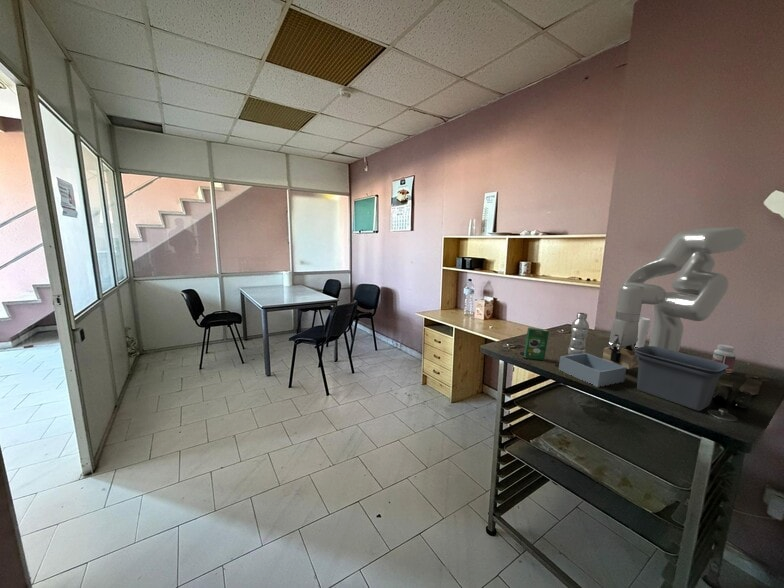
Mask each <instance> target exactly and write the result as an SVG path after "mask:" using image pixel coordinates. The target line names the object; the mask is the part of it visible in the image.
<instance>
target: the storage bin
mask: <svg viewBox="0 0 784 588" xmlns="http://www.w3.org/2000/svg"><path fill="white" fill-rule="evenodd" d="M634 351H635V352H636V353H635V356H637V357H639V358H638V367H637V382H636V383H637V384H636V388H637V390H638V391H640V392H643V393H646V394H649V395H652V396H655V397H657V398H661V399H663V400H666V401H669V402H671V403H675V404H677V405H679V406H683V407H685V408H688V409H691V410H694V411H698V412H701V411H702V410H704V409H706V408H707V407H709V406H710V405H711V403H712V398H713V397H714V394H715V391H716V389H717V385H718V383H719V380H720V377H721V376H724V375H727V374H726V373H727V370H726V368H728V367H729V366H728V365H726V364H723V363H719V362H716V361H712V359H709V358H703V357H699V356H696V355H692V354H688V353H683V352H680V351H679V352H676V351H672V350H668V349H664V348H659V347H654V346H649V345H644V346H643V347H639V348H635V349H634Z"/></svg>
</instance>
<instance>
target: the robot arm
mask: <svg viewBox="0 0 784 588" xmlns="http://www.w3.org/2000/svg"><path fill="white" fill-rule="evenodd" d="M744 231H745V230H743V229H741V228H740V227H736V226H735V227H732V226H731V227H702V228H695V229H692V230H684V231H679V232H678V233H675V235H674V236H673V237H672V238H671V239H670V241H669V242H668V243H667V245H666V246H665V247H664V248H663V250H662V251H661V253H660V254H659V255H658V256H657V258H656V259H653V261H650V262H648V263H646V264H644V265H642V266H640V267H639V268H637V269H635V270H634V271H633V272H631V273H630V274H629V276H627V279H625V281H624V282H623V283H622V284H621V285H620V286H619V289H618V294H617V302H616V310H615V317H614V320H613V323H612V326H611V330H610V334H609V335H610V336H609V342H608V345H609V346H608V347H610V348H611V359H610V360H611V361H613V362H616V363H620V356H621V353H620V351H621V349H622V348H623V347H625V348H624V349H628V350H631V351H635V345H636V343H637V341H638V338H637V337H638V322H639V319H640V317H641V313H642V312H641V311H642V305H643V304H644V305H651V306H653V313H654V314H653V315H654V316H653V323H652V328H651V332H650V338H649V342H648V343H649V344H648V346H654V347H659V348H664V349H668V350H672V351H676V352H680V348H681V344H682V338H683V335H684V324H683V321H682V320H681V319H684V320H689V321H693V322H703V321H705V320H708V318H709V317H710V316H711V315H712V313H713V312H714V310H715V309H716V308H717V307H718V305H719V303H720V302H721V301H722V299H723V298H724V296H725V295H726V293H727V291H728V288H729V279H728V278H727V276H726V275H724V274H723V273H718V272H715V271H714V272H713V269H714V268H715V265H716V263H715V259H714V258H713V255H712V254H720V253H726V252H731V251H735V250H737V249H739V248H740V247H741V246H742V245H743V244H744V242H745V240H746V234H745V232H744ZM675 273H677V274H676V276H675V277H674V279H673V281H672V285H671V288H672V289H673V290H674V291H666V290H665V288H663V287H662V286H660V285H656V284H651V283H645V282H647V281H650V280H652V279H654V278H658V277H663V276H667V275H668V276H669V275H671V274H675ZM675 291H676V292H675ZM616 346H618V349H617V347H616Z"/></svg>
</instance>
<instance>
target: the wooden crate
mask: <svg viewBox="0 0 784 588" xmlns="http://www.w3.org/2000/svg"><path fill="white" fill-rule="evenodd" d="M616 347H617V349H618V346H616ZM602 351H603V353H602V359H604V360H607V361H610V362H613V361H611V360H610V359H611V348H610V346H607V347H604V348H603V350H602ZM636 352H637V351H635V350H633V351H631V350H628V349H624V348H623V347H622V349H621V351H620V353H621V356H620V363H616V362H613V363H615V364H618V365H621V366H624V367H627V369H626V370H630V369H634V368H638V358H639V357H637V356H635V353H636Z"/></svg>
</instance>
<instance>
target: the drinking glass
mask: <svg viewBox="0 0 784 588" xmlns="http://www.w3.org/2000/svg"><path fill="white" fill-rule="evenodd" d="M651 321H652V320H651V319H650V318H647V317H642V316H640V319H639V322H638V337H637V338H638V341H637V343H636V345H635V347H638V348H639V347H643V346H645V343H646V341H647V337H648V333H649V330H650V327H651Z"/></svg>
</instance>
